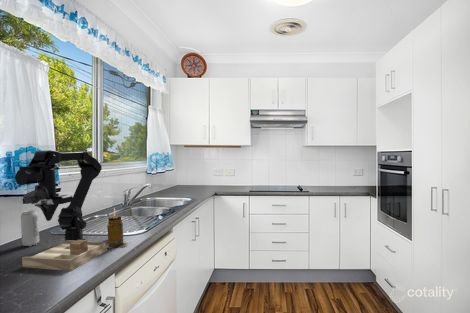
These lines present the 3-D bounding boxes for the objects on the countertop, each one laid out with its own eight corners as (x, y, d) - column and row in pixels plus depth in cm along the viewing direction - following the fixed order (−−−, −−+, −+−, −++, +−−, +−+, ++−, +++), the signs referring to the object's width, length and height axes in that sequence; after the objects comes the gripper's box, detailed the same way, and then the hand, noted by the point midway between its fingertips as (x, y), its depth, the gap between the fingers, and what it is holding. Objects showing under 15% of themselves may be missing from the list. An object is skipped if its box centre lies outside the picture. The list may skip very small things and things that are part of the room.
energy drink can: (26, 243, 120) (24, 210, 120) (41, 241, 122) (40, 208, 122) (19, 247, 115) (17, 213, 114) (35, 246, 116) (33, 211, 116)
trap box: (65, 248, 112) (64, 240, 112) (106, 250, 108) (106, 242, 108) (22, 267, 94) (22, 257, 94) (70, 270, 90) (69, 260, 90)
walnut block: (78, 250, 102) (78, 239, 102) (87, 250, 102) (87, 240, 101) (70, 254, 99) (69, 243, 98) (79, 254, 98) (79, 243, 98)
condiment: (110, 242, 118) (109, 215, 117) (130, 241, 119) (129, 214, 118) (104, 248, 110) (103, 219, 110) (125, 247, 111) (124, 218, 111)
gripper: (7, 184, 101) (9, 225, 101) (48, 184, 97) (50, 227, 97) (35, 181, 112) (37, 218, 112) (72, 180, 108) (74, 219, 108)
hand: (48, 220), depth 107 cm, fingers closed
